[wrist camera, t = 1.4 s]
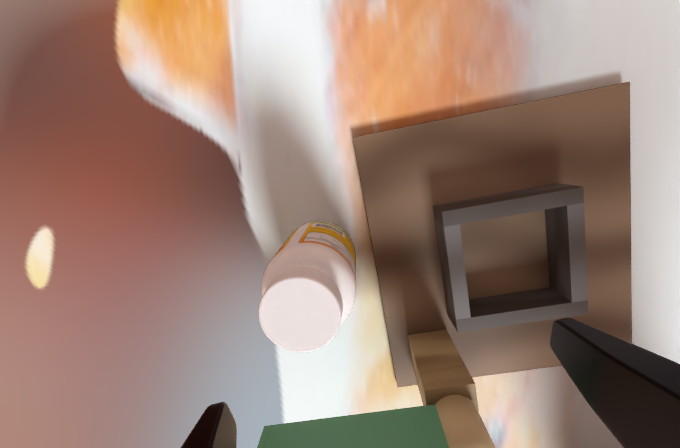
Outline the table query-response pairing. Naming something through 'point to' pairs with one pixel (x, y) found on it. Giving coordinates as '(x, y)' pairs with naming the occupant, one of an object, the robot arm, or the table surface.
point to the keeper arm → (388, 429)
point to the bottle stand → (500, 234)
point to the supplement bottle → (309, 287)
